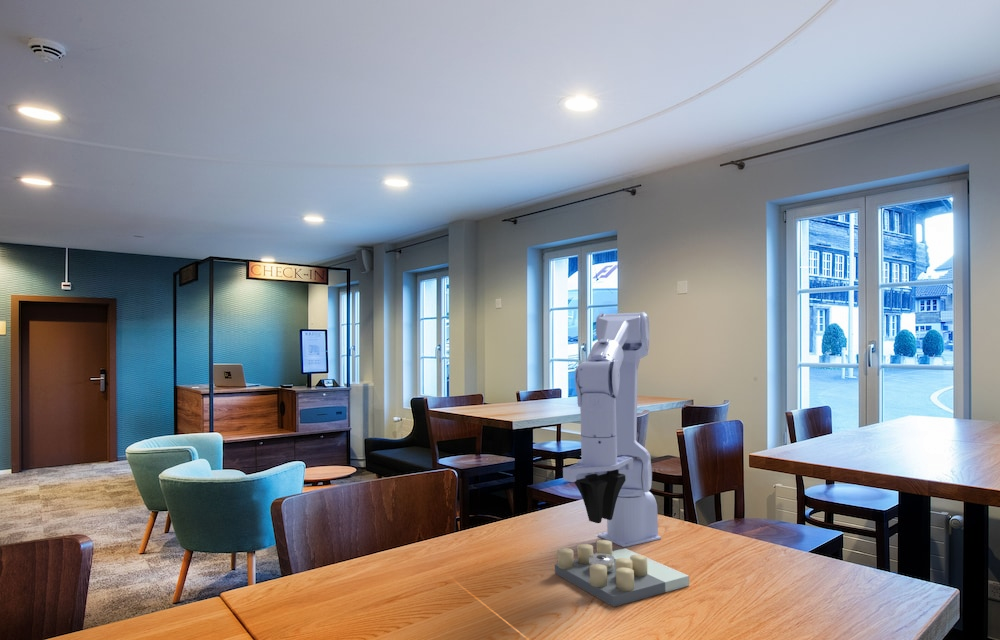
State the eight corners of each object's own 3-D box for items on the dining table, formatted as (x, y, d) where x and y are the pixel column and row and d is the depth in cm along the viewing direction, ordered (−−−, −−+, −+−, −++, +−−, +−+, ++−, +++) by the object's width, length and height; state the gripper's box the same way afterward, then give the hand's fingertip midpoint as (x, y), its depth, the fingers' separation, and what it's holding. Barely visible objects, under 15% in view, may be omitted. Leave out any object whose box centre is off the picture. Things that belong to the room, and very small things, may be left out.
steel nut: (603, 563, 101) (603, 551, 101) (619, 571, 97) (619, 558, 97) (584, 568, 99) (583, 555, 99) (599, 576, 95) (599, 563, 95)
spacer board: (625, 556, 108) (624, 534, 108) (689, 585, 95) (688, 559, 95) (553, 573, 101) (553, 549, 101) (612, 607, 88) (611, 579, 88)
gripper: (610, 428, 107) (611, 507, 106) (548, 437, 98) (550, 523, 97) (642, 432, 101) (644, 515, 100) (580, 442, 92) (582, 533, 91)
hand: (600, 520), depth 98 cm, fingers closed
